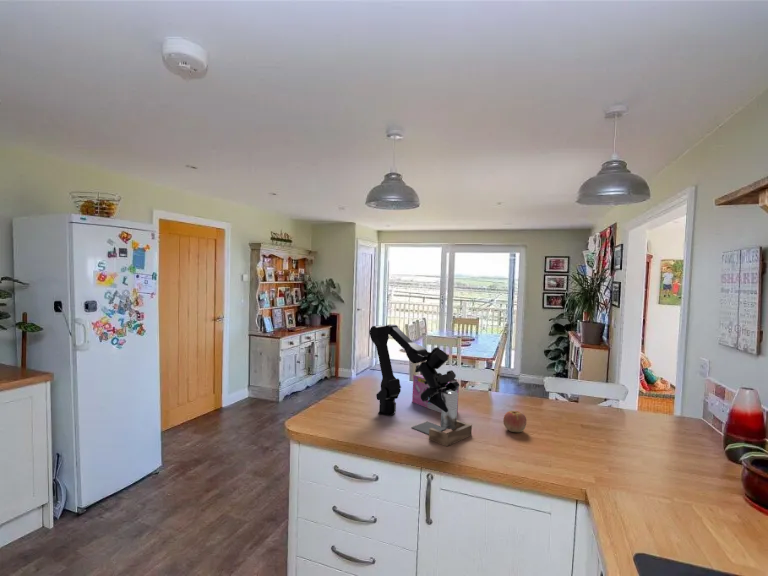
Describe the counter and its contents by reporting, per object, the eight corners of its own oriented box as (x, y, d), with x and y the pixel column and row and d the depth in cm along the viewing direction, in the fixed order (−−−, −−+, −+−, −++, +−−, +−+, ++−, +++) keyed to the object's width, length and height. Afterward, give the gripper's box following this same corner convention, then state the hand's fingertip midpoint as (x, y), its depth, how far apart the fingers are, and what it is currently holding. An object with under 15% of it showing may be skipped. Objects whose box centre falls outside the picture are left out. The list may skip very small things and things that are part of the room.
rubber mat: (411, 428, 161) (411, 427, 161) (427, 422, 168) (427, 421, 168) (430, 435, 154) (430, 434, 154) (446, 429, 161) (446, 428, 161)
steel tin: (439, 427, 152) (441, 394, 152) (441, 422, 158) (443, 389, 158) (455, 430, 151) (457, 395, 150) (457, 424, 156) (458, 391, 156)
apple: (527, 436, 157) (528, 416, 157) (503, 433, 159) (504, 413, 159) (524, 428, 166) (525, 409, 165) (501, 425, 167) (502, 407, 167)
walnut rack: (428, 439, 151) (429, 428, 151) (453, 428, 162) (454, 419, 162) (446, 446, 145) (447, 435, 145) (471, 435, 156) (471, 425, 156)
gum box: (409, 401, 196) (410, 374, 196) (420, 398, 201) (421, 371, 201) (447, 415, 178) (448, 385, 178) (458, 412, 183) (459, 382, 183)
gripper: (427, 367, 150) (450, 404, 142) (456, 361, 163) (479, 394, 155) (411, 383, 156) (432, 419, 148) (440, 376, 169) (461, 409, 161)
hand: (452, 410), depth 153 cm, fingers closed on steel tin, 6 cm apart
